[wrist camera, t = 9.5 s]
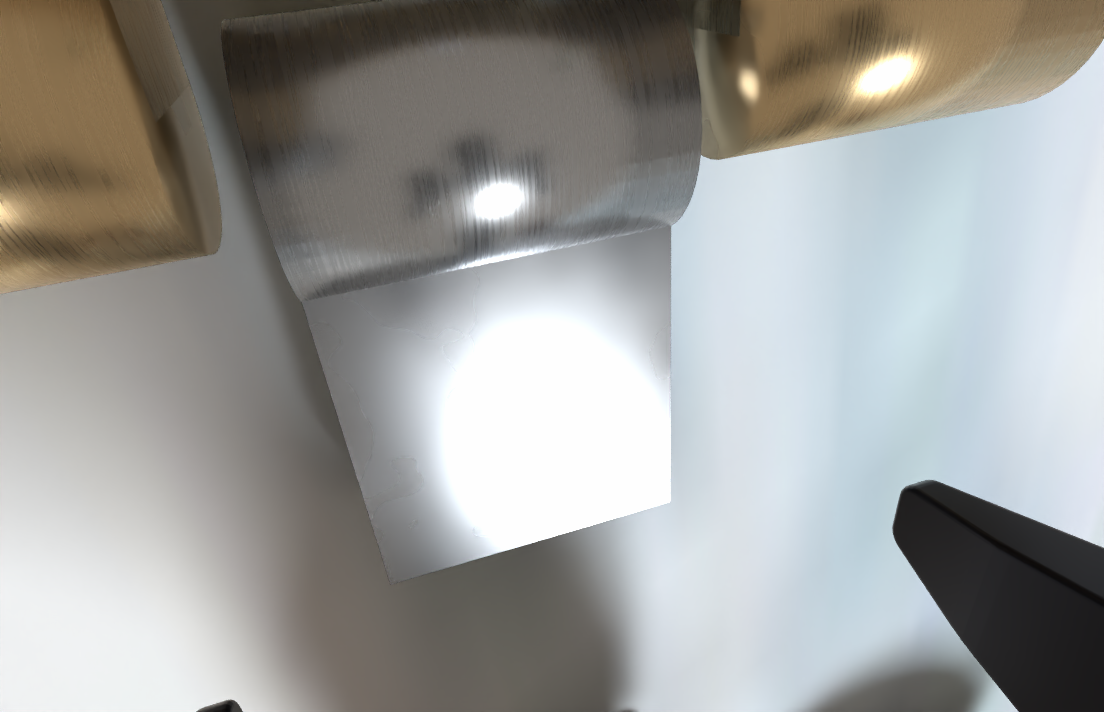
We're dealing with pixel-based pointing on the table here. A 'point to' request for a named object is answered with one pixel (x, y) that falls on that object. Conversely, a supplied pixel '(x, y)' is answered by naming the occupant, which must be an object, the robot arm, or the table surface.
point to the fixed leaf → (721, 57)
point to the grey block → (480, 250)
